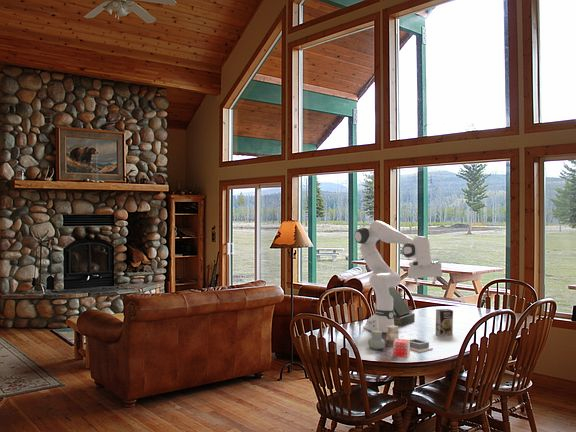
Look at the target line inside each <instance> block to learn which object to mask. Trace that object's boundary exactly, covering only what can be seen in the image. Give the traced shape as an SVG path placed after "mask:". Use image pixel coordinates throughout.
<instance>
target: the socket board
mask: <svg viewBox="0 0 576 432" xmlns="http://www.w3.org/2000/svg"><path fill="white" fill-rule="evenodd" d="M409 340H410V351H414V352H418V353H422V352H427V351H432V350H434V347H432V346H431V347H430V342H429V341H425V340H422V339H418V338H413V339H409Z"/></svg>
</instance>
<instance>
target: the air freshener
mask: <svg viewBox="0 0 576 432" xmlns="http://www.w3.org/2000/svg"><path fill="white" fill-rule="evenodd" d="M382 336H383V332H381V331H378V330H374V331H371V338H369V339H368V341H367V344H368V348H370V349H372V350H377V351H378V350H379V351H380V350H382V349H384V348H385V347H386V340H385V339H383V337H382Z"/></svg>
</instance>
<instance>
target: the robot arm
mask: <svg viewBox="0 0 576 432" xmlns="http://www.w3.org/2000/svg"><path fill="white" fill-rule="evenodd" d="M353 236H354V240H355V242H356V243H358V244H360V246H359V250H360V254H361V256H362V258H363V260H364V262H365V264H366V265H367V267H368V269H369V270H370V271H371V272H373V273H374V274H371V276H370V277H369V282H368V283H369V285H370V287H371V288H372V289H373V291H374V293H375V297H376V298H375V299H376V301H375V302H376V308H375V309H373V312H374V314H372V315H371V316H370V317H369V318H368V319H367V321H366V325H363V329H366V330H369V331H371V332H372V331H374V330H378V331H381V332H382V333H387V326H392V325H394V317H393V315H394V310H393V297H392V296H391V295H390V293H389V288H393V287H398V286H399V285H400V284H401V280H402V279H401V276H400V274H399V273H398V272H396V271H395V270H393V269H392V268H391V267H390V266H389V265H388V264H387V263H386V262H385V261H384V259H383V256H382V255H381V254H380V252H379V250H378V249H377V245H379V244H380V242H384V243H387V244H398V245H403V246H402V255H403V257H405V258H408V259H413V258H414V259H415V260H413V261H409V263H408V266H409V267H408V268H407V269H408V270H407V276H408V277H407V278H408V279H414V281H415V283H416V286H418V287H419V286H420V284H421V283H420V282H419V281H418V279H423V278H425V279H426V278H433V281H432V282H431V284H432V285H434V286H435V285H436V281H437V277H439V278H440V277H442V276H443V272H442V262H440V261H432V256H431V247H430V241H429V240H430V239H428V237H427V236H423V235H422V236H421V235H416V236H415V237H414V238H412V237H410V236H408V235H407V234H404V233H403V232H401V231H399V230H398V229H396V228H394V227H392V226H391V225H389V224H387V223H385V222H384V221H381V220H373V221H372V222H371V223H370V226H365V227H360V228H358V229H357V230H355V231H354V235H353ZM376 244H377V245H376Z"/></svg>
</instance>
